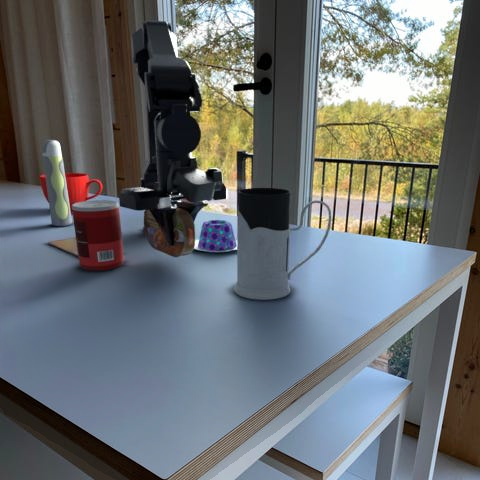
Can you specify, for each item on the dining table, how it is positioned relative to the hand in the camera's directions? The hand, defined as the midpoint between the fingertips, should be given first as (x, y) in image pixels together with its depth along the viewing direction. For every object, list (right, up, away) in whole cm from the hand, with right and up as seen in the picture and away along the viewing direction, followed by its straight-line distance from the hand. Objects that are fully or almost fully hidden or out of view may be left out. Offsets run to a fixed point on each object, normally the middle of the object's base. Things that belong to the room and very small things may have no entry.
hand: (178, 244), depth 84 cm
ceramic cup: (-37, +18, +53) cm, 67 cm away
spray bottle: (-34, +10, +36) cm, 50 cm away
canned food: (-14, -4, +3) cm, 15 cm away
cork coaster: (-21, +1, +14) cm, 25 cm away
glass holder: (+17, -9, -10) cm, 22 cm away
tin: (-2, -1, +3) cm, 4 cm away
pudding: (+6, +1, +15) cm, 16 cm away
